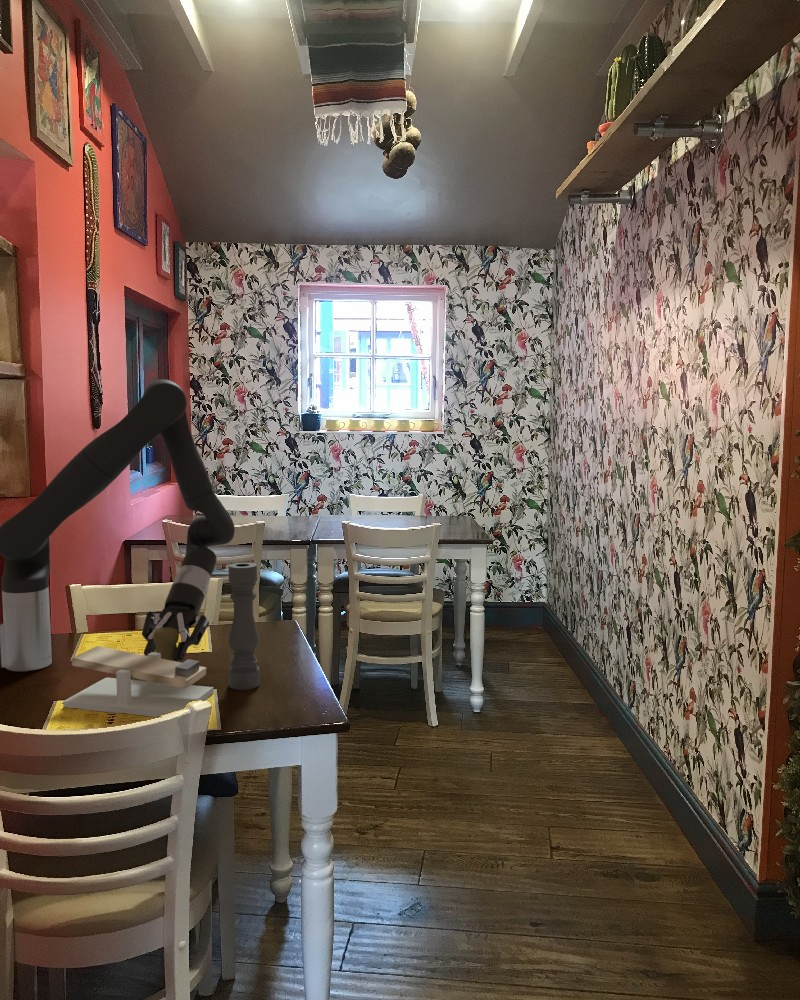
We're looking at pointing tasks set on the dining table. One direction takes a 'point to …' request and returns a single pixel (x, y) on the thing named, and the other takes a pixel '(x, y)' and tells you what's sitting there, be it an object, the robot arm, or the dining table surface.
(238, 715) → the dining table surface
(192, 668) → the beam
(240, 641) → the candle holder
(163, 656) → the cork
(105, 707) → the beam stand
